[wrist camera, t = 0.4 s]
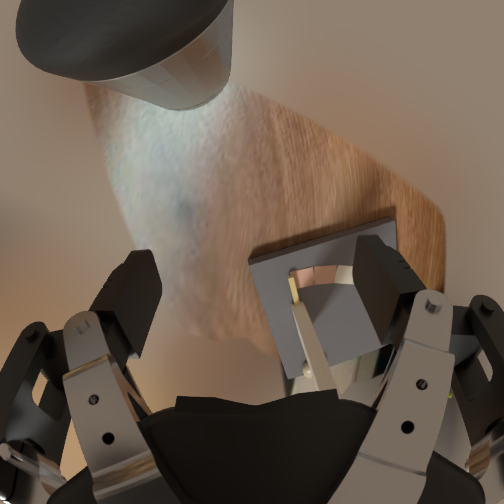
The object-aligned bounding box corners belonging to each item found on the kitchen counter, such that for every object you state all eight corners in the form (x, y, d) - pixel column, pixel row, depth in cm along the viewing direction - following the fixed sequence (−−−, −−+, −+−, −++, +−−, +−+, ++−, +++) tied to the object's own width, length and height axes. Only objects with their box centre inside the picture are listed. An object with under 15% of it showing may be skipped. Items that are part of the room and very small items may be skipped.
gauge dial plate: (247, 259, 31) (248, 266, 30) (391, 215, 30) (398, 219, 29) (286, 372, 40) (288, 379, 38) (392, 334, 39) (396, 341, 37)
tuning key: (276, 279, 30) (313, 398, 16) (302, 271, 30) (355, 383, 16) (303, 374, 38) (329, 465, 23) (322, 368, 38) (353, 457, 23)
